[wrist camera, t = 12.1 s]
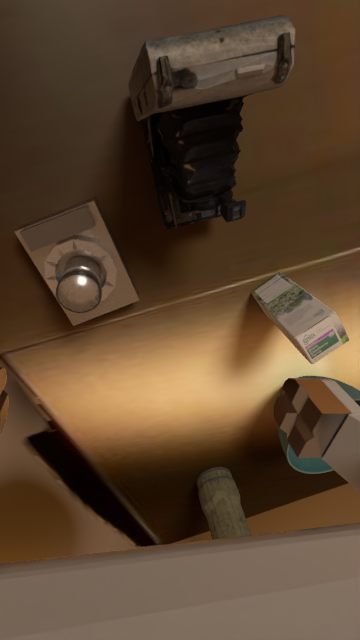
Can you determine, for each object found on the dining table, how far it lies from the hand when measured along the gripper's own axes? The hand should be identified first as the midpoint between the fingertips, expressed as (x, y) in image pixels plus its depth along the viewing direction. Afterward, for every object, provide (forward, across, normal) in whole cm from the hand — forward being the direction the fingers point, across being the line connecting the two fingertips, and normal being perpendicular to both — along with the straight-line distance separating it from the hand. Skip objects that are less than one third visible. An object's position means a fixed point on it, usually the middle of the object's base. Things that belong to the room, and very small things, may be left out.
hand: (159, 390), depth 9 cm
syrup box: (+35, -25, +10) cm, 44 cm away
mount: (+35, +4, +8) cm, 36 cm away
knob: (+32, +4, +9) cm, 34 cm away
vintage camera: (+35, -6, -7) cm, 37 cm away
